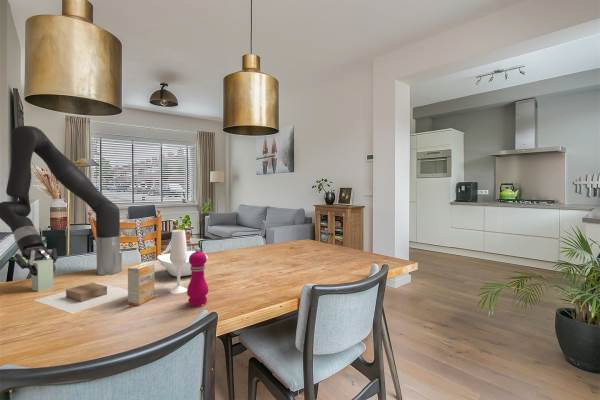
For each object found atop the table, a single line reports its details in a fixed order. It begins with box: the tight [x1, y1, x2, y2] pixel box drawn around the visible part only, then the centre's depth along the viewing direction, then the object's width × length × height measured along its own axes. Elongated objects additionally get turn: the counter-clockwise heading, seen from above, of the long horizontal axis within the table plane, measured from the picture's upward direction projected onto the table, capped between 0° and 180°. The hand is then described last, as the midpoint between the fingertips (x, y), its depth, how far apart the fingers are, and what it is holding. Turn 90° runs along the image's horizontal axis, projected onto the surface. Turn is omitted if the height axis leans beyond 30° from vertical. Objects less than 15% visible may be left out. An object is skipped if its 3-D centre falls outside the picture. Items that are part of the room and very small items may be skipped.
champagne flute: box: [169, 229, 188, 295], centre depth 121 cm, size 7×7×24 cm
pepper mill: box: [186, 247, 209, 307], centre depth 109 cm, size 7×7×20 cm
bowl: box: [157, 250, 209, 278], centre depth 144 cm, size 21×21×9 cm
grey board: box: [33, 282, 128, 315], centre depth 112 cm, size 22×24×1 cm
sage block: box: [30, 259, 54, 293], centre depth 121 cm, size 5×5×11 cm
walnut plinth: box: [65, 282, 107, 302], centre depth 111 cm, size 9×9×3 cm
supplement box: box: [127, 262, 155, 306], centre depth 110 cm, size 8×5×13 cm, turn 168°
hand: (44, 272), depth 120 cm, fingers closed on sage block, 5 cm apart
